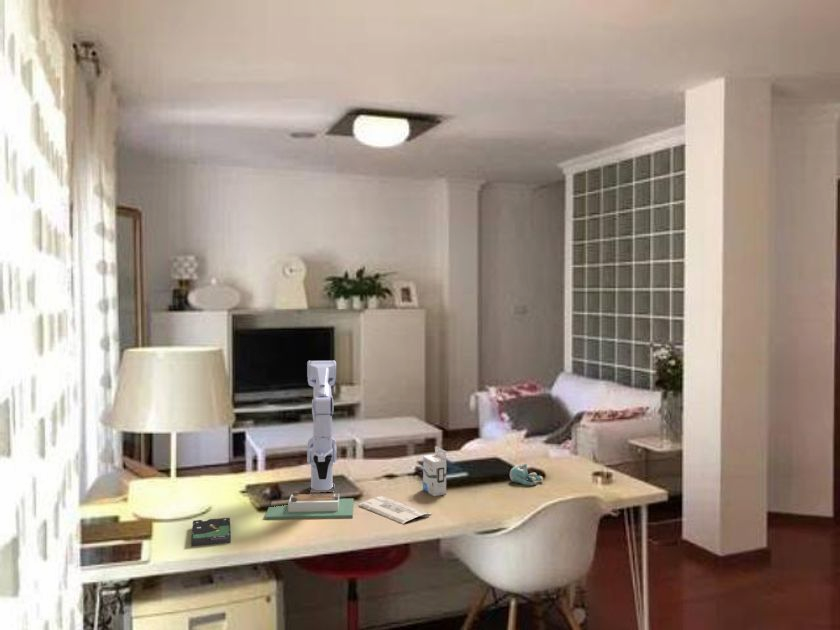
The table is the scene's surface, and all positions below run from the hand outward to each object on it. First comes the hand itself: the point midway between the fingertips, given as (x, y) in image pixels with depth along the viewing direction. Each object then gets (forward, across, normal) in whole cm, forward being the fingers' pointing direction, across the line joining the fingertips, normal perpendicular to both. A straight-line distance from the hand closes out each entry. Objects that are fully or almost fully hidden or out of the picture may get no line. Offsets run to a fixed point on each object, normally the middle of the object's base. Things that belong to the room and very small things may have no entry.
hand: (322, 478), depth 214 cm
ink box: (+10, -14, +37) cm, 40 cm away
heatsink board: (+9, +1, -4) cm, 10 cm away
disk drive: (+10, +21, -30) cm, 38 cm away
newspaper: (+10, +3, +22) cm, 25 cm away
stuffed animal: (+10, -24, +70) cm, 75 cm away
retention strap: (+6, +1, -2) cm, 6 cm away
